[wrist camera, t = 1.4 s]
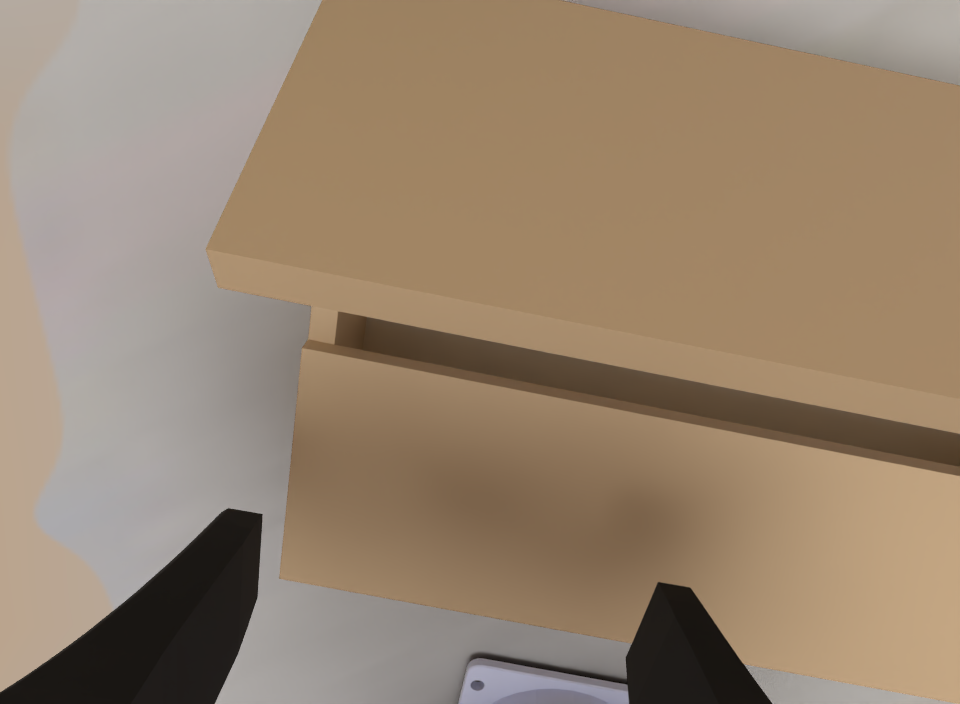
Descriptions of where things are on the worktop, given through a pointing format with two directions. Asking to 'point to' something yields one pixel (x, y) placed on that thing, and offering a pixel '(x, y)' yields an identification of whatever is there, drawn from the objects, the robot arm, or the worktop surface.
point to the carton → (623, 502)
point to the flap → (615, 199)
